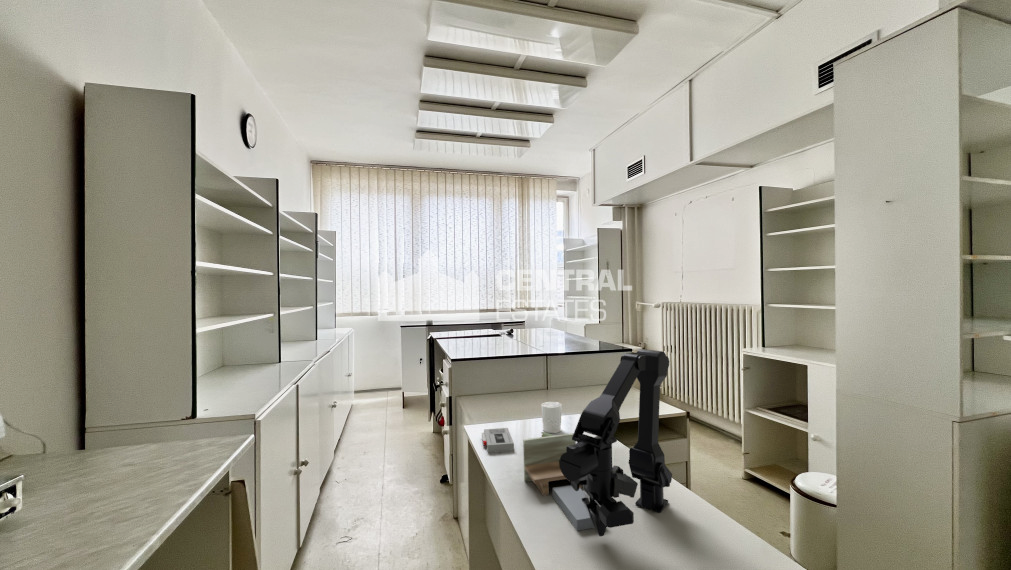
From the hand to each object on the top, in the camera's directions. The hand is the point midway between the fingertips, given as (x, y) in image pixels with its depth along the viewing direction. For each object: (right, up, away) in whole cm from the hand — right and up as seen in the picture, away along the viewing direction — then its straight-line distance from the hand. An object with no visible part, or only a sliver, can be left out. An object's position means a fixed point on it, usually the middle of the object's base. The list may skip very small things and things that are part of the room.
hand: (600, 535), depth 95 cm
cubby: (-7, -1, +26) cm, 26 cm away
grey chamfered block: (-3, -1, +12) cm, 13 cm away
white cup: (-3, -1, +70) cm, 70 cm away
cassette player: (-19, 0, +59) cm, 62 cm away
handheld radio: (-4, -1, +45) cm, 45 cm away
